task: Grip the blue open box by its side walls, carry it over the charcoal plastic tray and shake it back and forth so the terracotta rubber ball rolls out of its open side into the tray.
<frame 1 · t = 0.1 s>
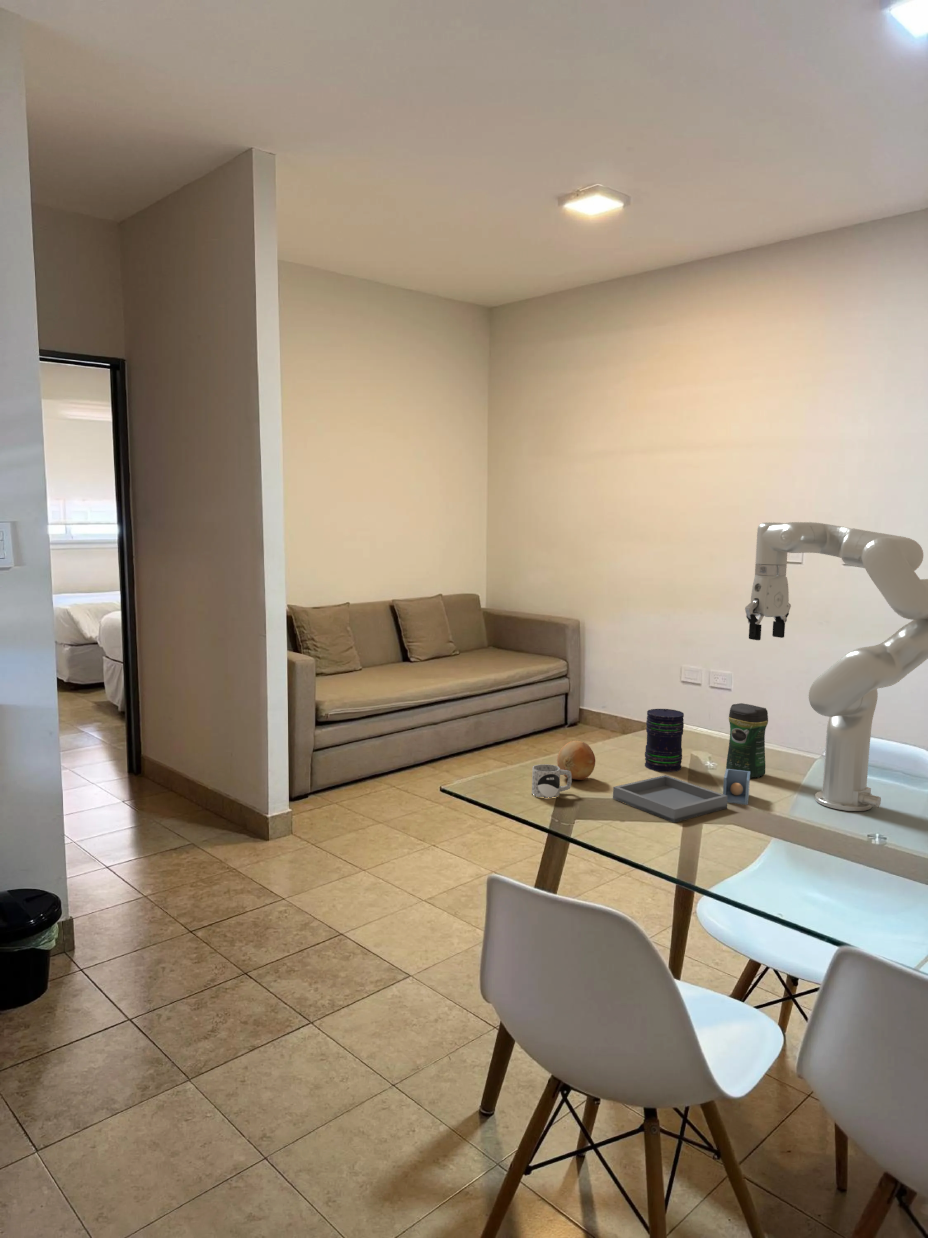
hand: (766, 638, 222), 37 cm above the table, tool pointing down, fingers open, 9 cm apart
mug: (552, 795, 210), on the table
storage jar: (662, 767, 235), on the table
onion: (575, 780, 223), on the table
tray: (669, 803, 205), on the table
blue open box: (735, 798, 210), on the table, touching ball
ball: (736, 789, 210), point 2 cm above the table, touching blue open box
coffee jar: (745, 774, 230), on the table
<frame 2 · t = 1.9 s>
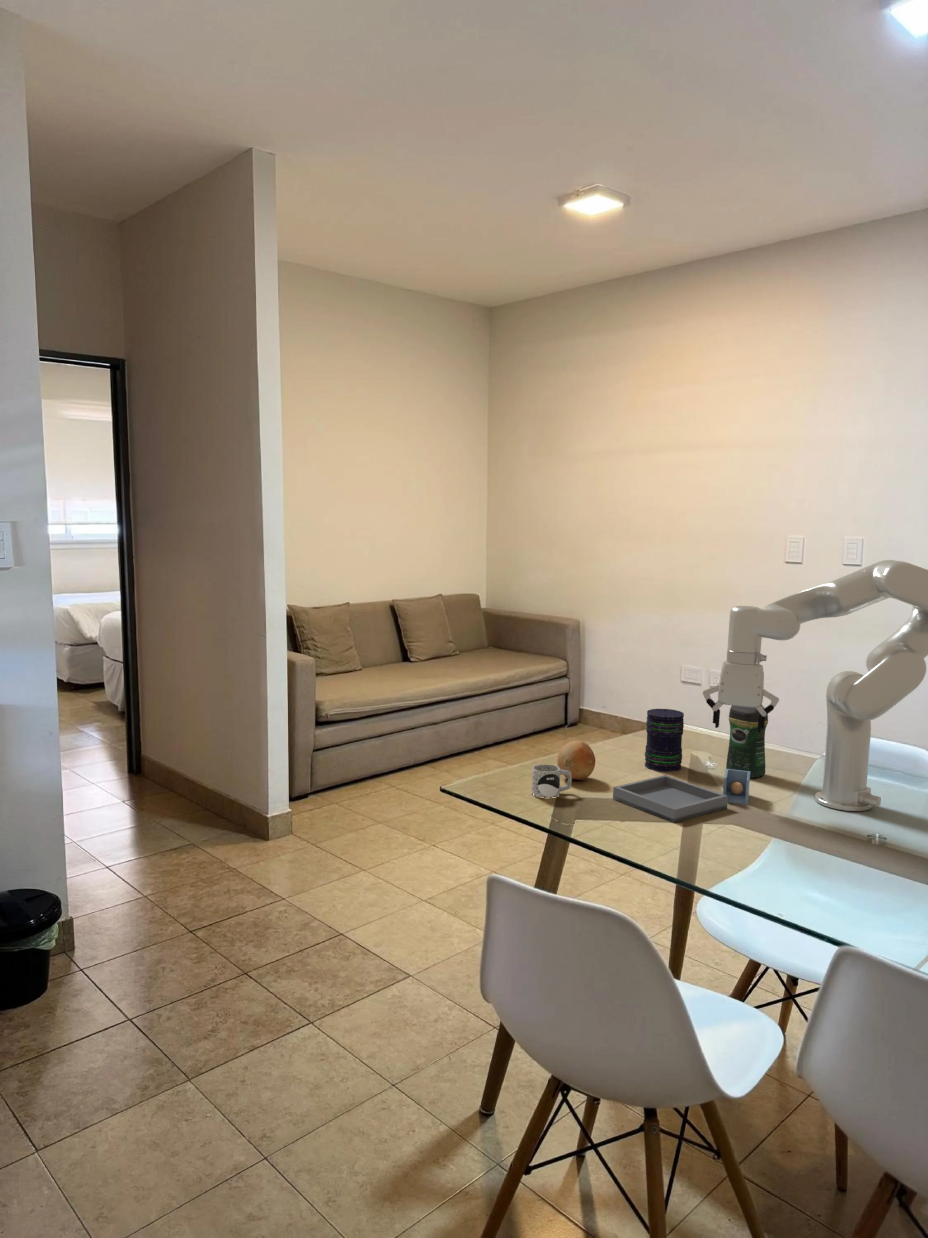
hand: (737, 729, 208), 17 cm above the table, tool pointing down, fingers open, 9 cm apart
ball: (736, 788, 211), point 2 cm above the table, tilted 26°, touching blue open box
everything else where it was.
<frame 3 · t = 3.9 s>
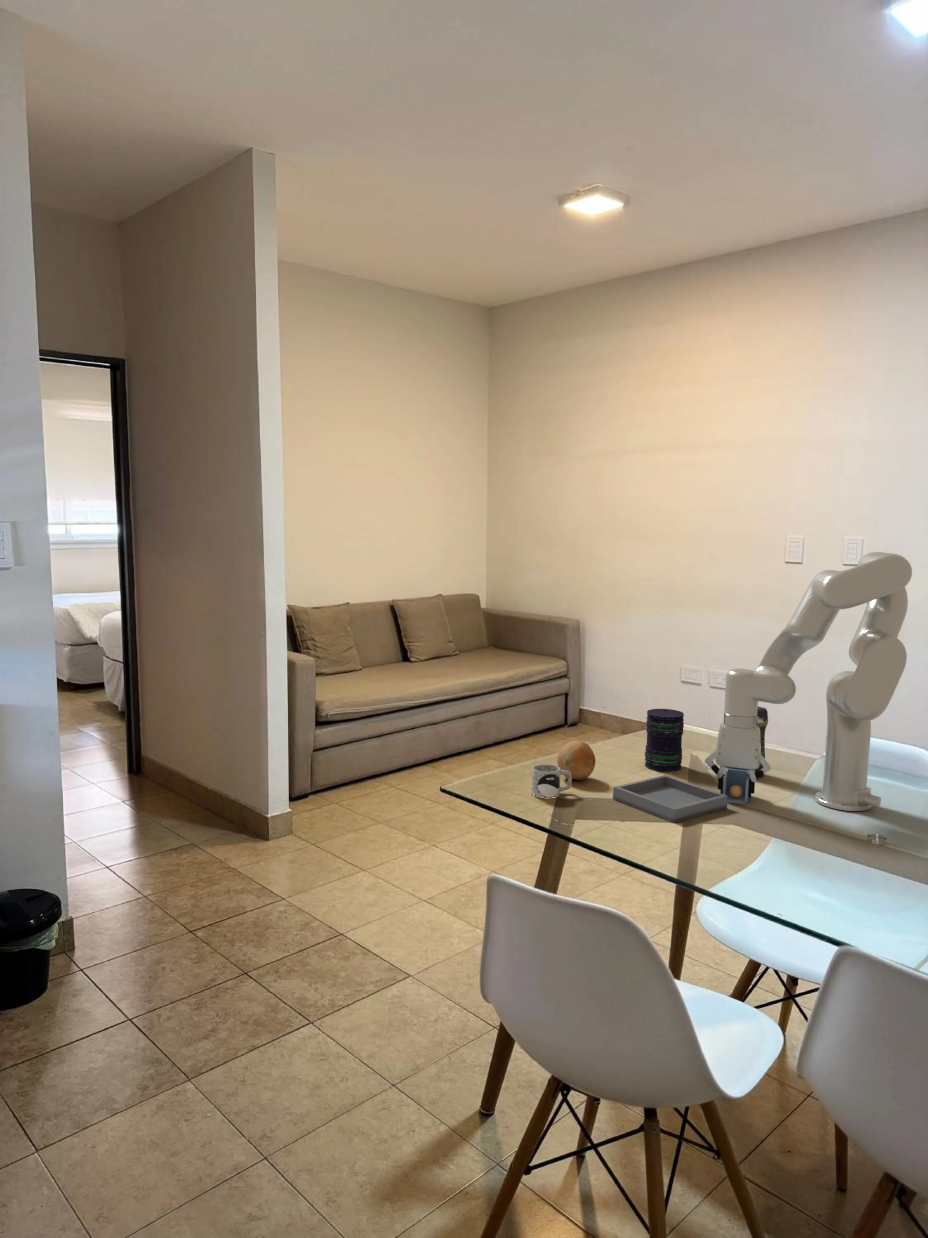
hand: (735, 793, 210), 1 cm above the table, tool pointing down, fingers closed on blue open box, 5 cm apart
blue open box: (735, 798, 210), on the table, touching ball, gripper
ball: (736, 791, 208), point 2 cm above the table, tilted 92°, touching blue open box
everything else where it was.
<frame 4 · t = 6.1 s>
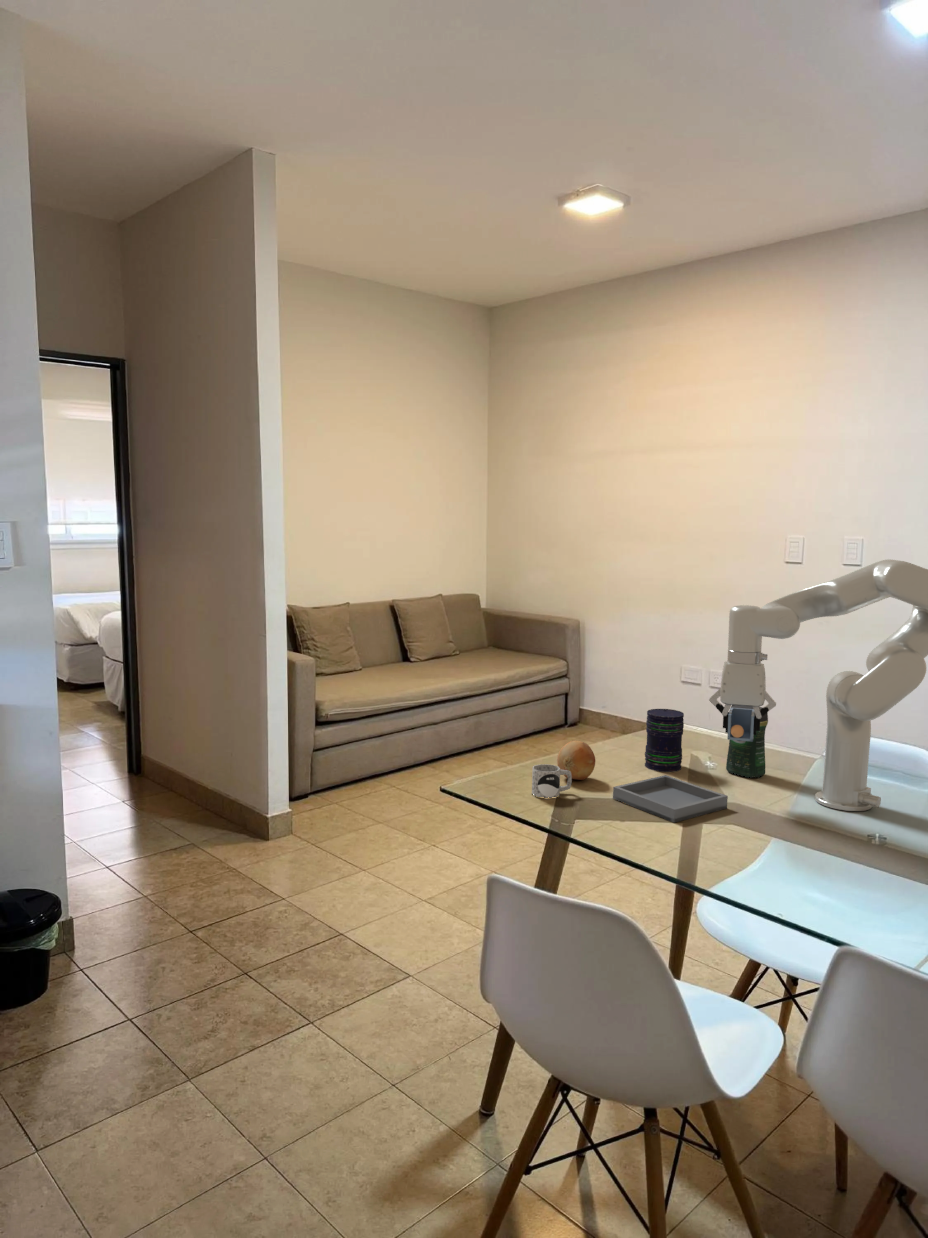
hand: (741, 732, 208), 16 cm above the table, tool pointing down, fingers closed on blue open box, 5 cm apart
blue open box: (740, 736, 208), point 15 cm above the table, touching ball, gripper
ball: (737, 731, 205), point 17 cm above the table, tilted 145°, touching blue open box
everything else where it was.
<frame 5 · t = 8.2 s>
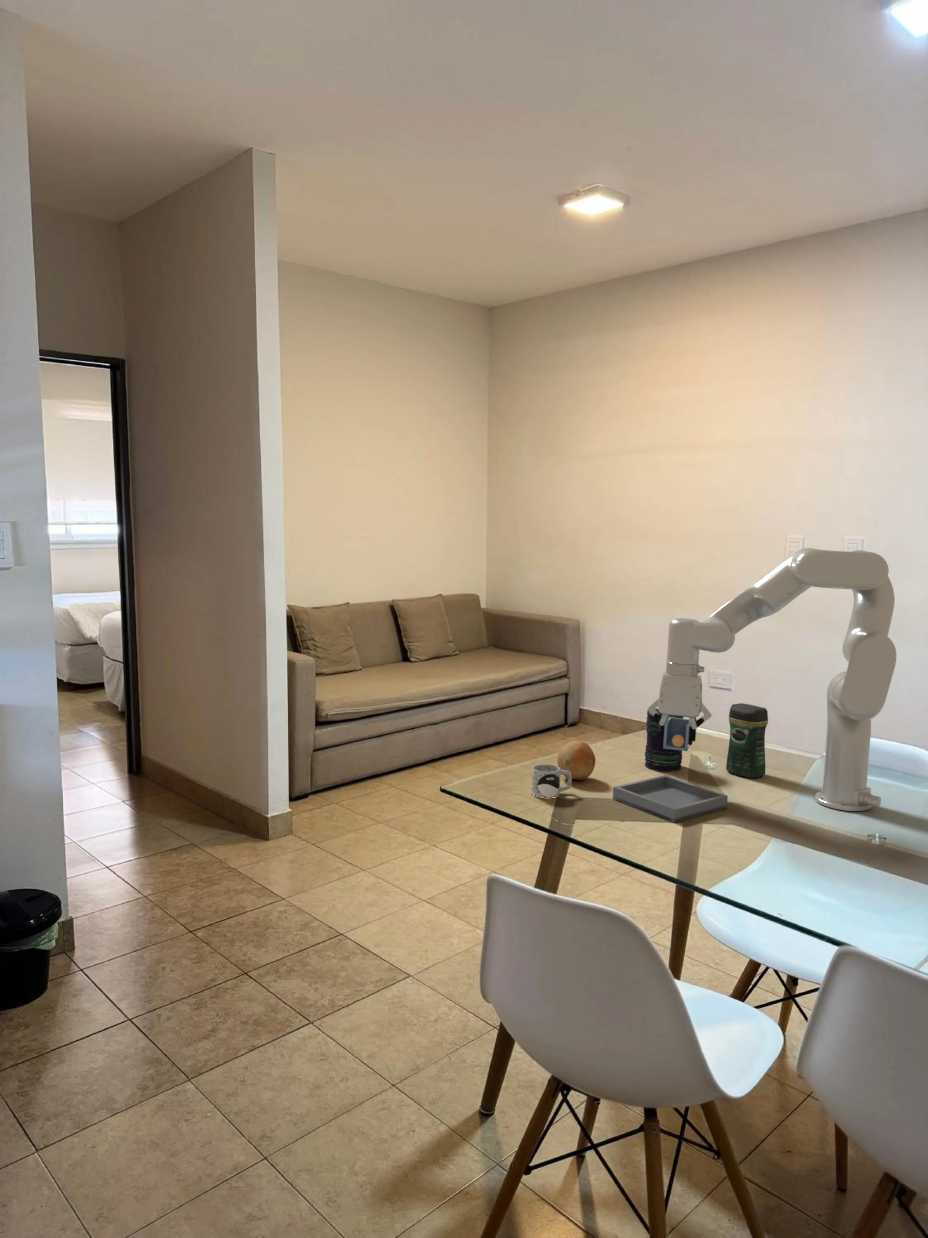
hand: (677, 741, 213), 12 cm above the table, tool pointing down, fingers closed on blue open box, 5 cm apart
blue open box: (677, 745, 213), point 11 cm above the table, touching ball, gripper
ball: (678, 740, 210), point 13 cm above the table, tilted 157°, touching blue open box
everything else where it was.
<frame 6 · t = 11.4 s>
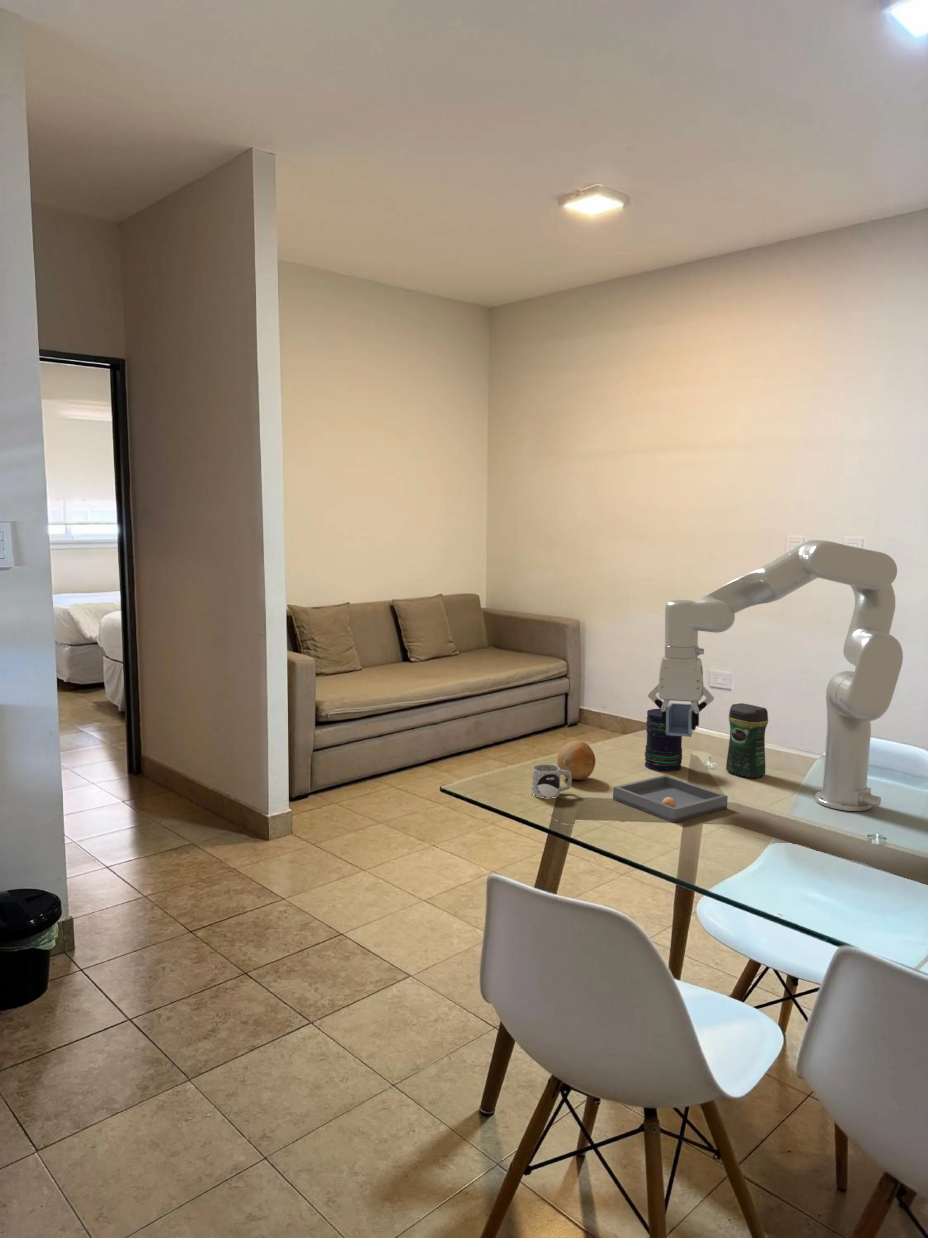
hand: (680, 727, 207), 17 cm above the table, tool pointing down, fingers closed on blue open box, 5 cm apart
blue open box: (680, 731, 207), point 16 cm above the table, touching gripper
ball: (668, 803, 198), point 2 cm above the table, tilted 54°, touching tray
everything else where it was.
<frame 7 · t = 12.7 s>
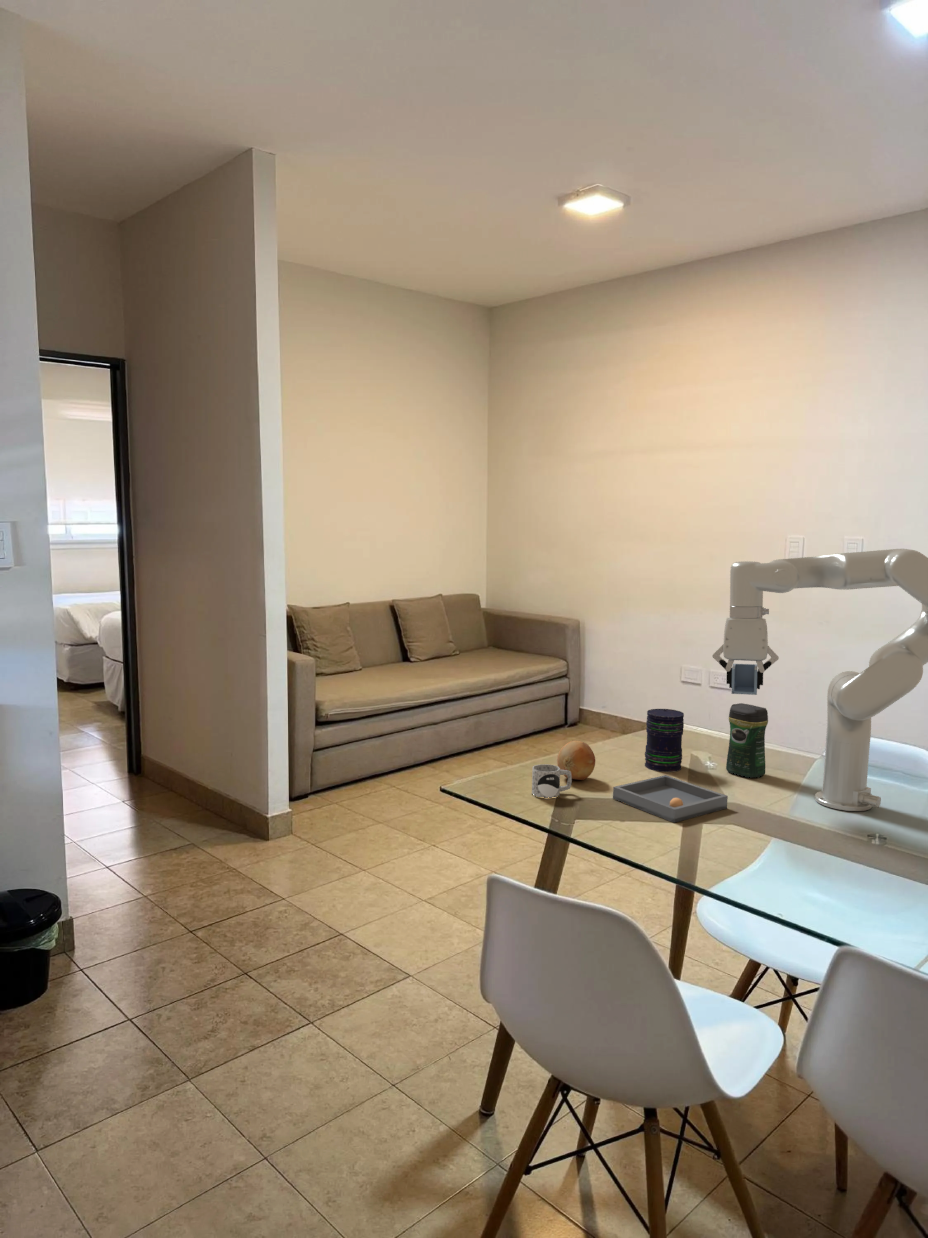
hand: (744, 686, 210), 27 cm above the table, tool pointing down, fingers closed on blue open box, 5 cm apart
blue open box: (744, 691, 210), point 26 cm above the table, touching gripper
ball: (676, 804, 197), point 2 cm above the table, tilted 116°, touching tray
everything else where it was.
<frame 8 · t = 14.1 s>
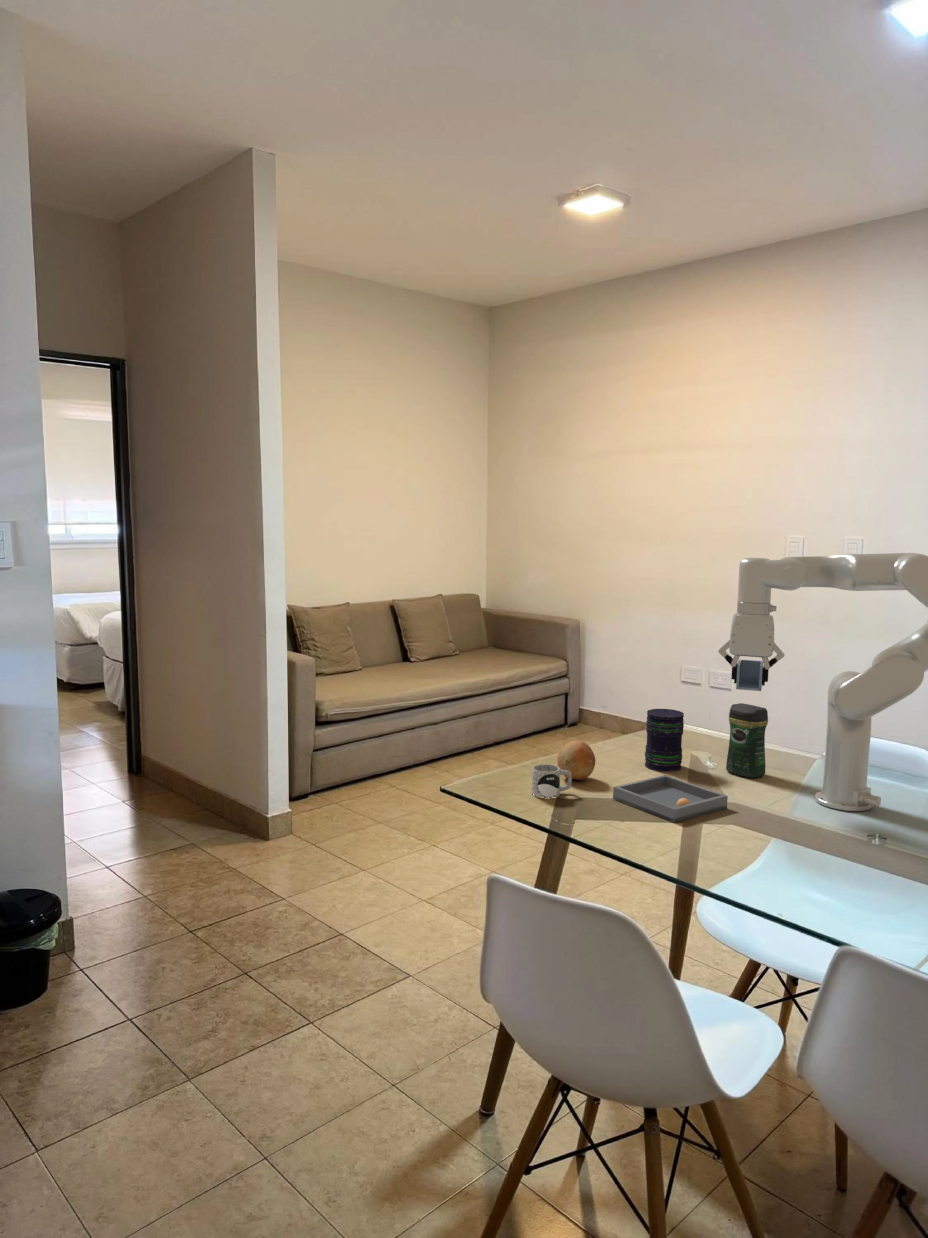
hand: (749, 682, 211), 27 cm above the table, tool pointing down, fingers closed on blue open box, 5 cm apart
blue open box: (749, 687, 211), point 26 cm above the table, touching gripper
ball: (683, 805, 197), point 2 cm above the table, tilted 163°, touching tray
everything else where it was.
at the end: ball inside the target area on the tray (7.7 cm from its centre), point 2.3 cm above the tray's base; ball touching tray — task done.
